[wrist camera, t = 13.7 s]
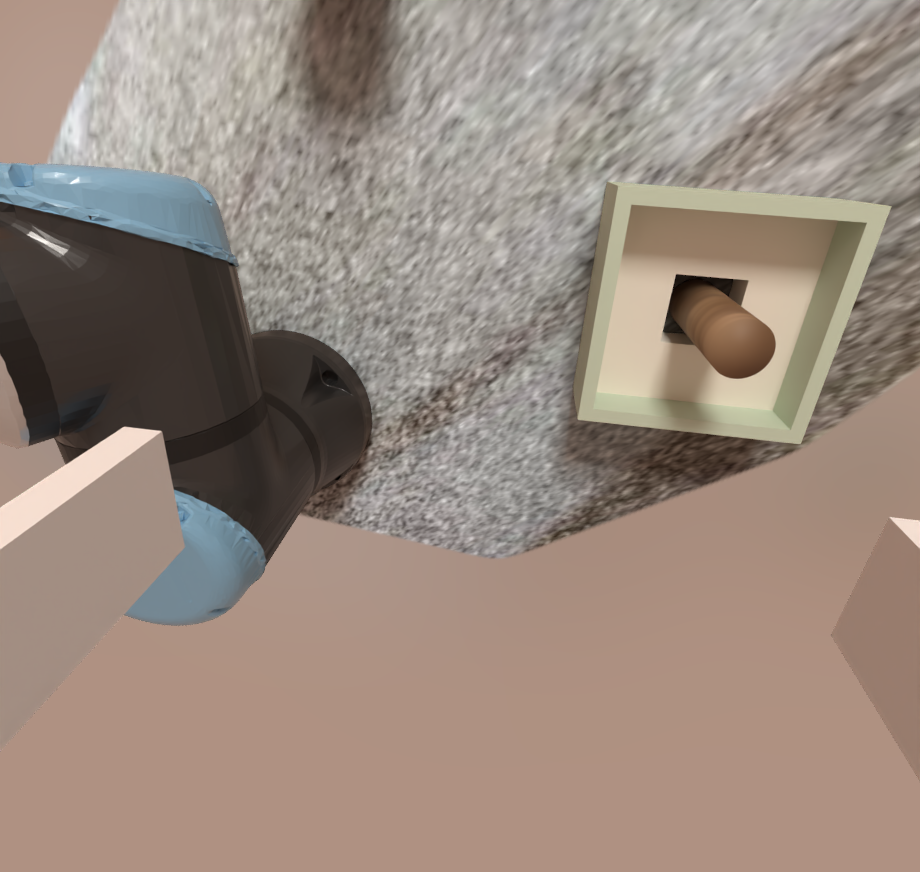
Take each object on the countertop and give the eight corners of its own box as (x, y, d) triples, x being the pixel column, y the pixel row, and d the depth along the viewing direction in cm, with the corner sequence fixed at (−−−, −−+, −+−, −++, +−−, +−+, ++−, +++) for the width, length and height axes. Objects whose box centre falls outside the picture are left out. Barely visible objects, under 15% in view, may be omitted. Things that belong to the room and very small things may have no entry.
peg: (663, 323, 44) (702, 375, 34) (674, 276, 43) (718, 316, 32) (710, 327, 44) (764, 381, 33) (723, 281, 42) (784, 322, 32)
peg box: (572, 387, 48) (577, 419, 42) (607, 181, 41) (618, 185, 35) (767, 408, 46) (800, 444, 41) (839, 198, 39) (891, 206, 33)
